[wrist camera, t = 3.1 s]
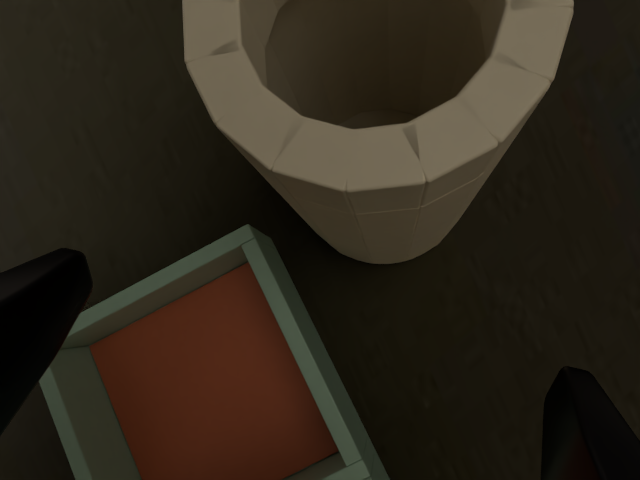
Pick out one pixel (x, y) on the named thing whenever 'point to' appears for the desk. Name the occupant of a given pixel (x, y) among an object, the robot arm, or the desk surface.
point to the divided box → (206, 378)
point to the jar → (374, 104)
